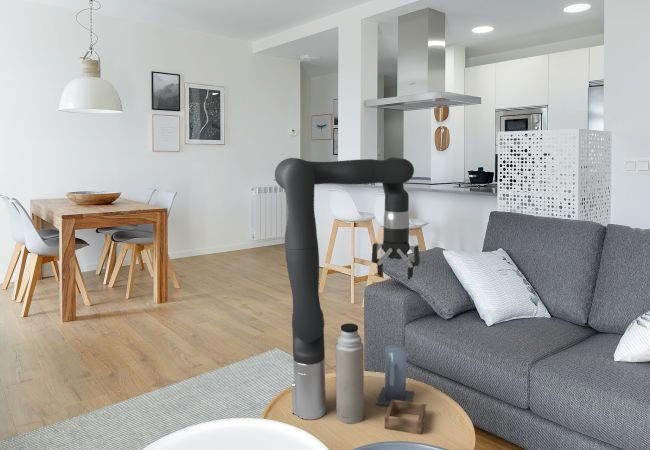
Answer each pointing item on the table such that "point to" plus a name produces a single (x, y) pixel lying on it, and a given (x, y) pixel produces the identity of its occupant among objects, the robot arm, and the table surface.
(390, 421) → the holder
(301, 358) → the robot arm
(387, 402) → the mat
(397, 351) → the jug
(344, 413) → the thermos bottle
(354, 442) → the table surface
